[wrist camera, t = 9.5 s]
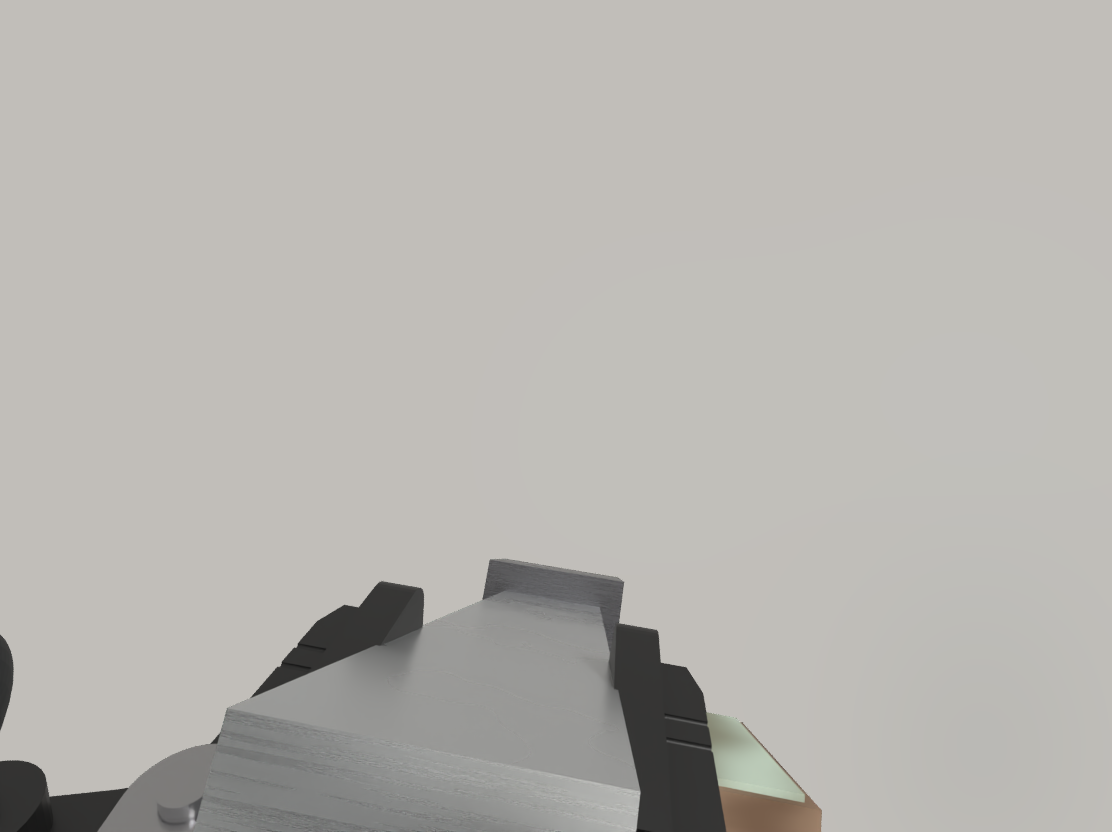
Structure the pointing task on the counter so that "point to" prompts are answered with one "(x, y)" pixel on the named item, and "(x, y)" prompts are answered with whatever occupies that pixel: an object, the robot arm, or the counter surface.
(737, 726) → the stand
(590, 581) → the brushed steel block
